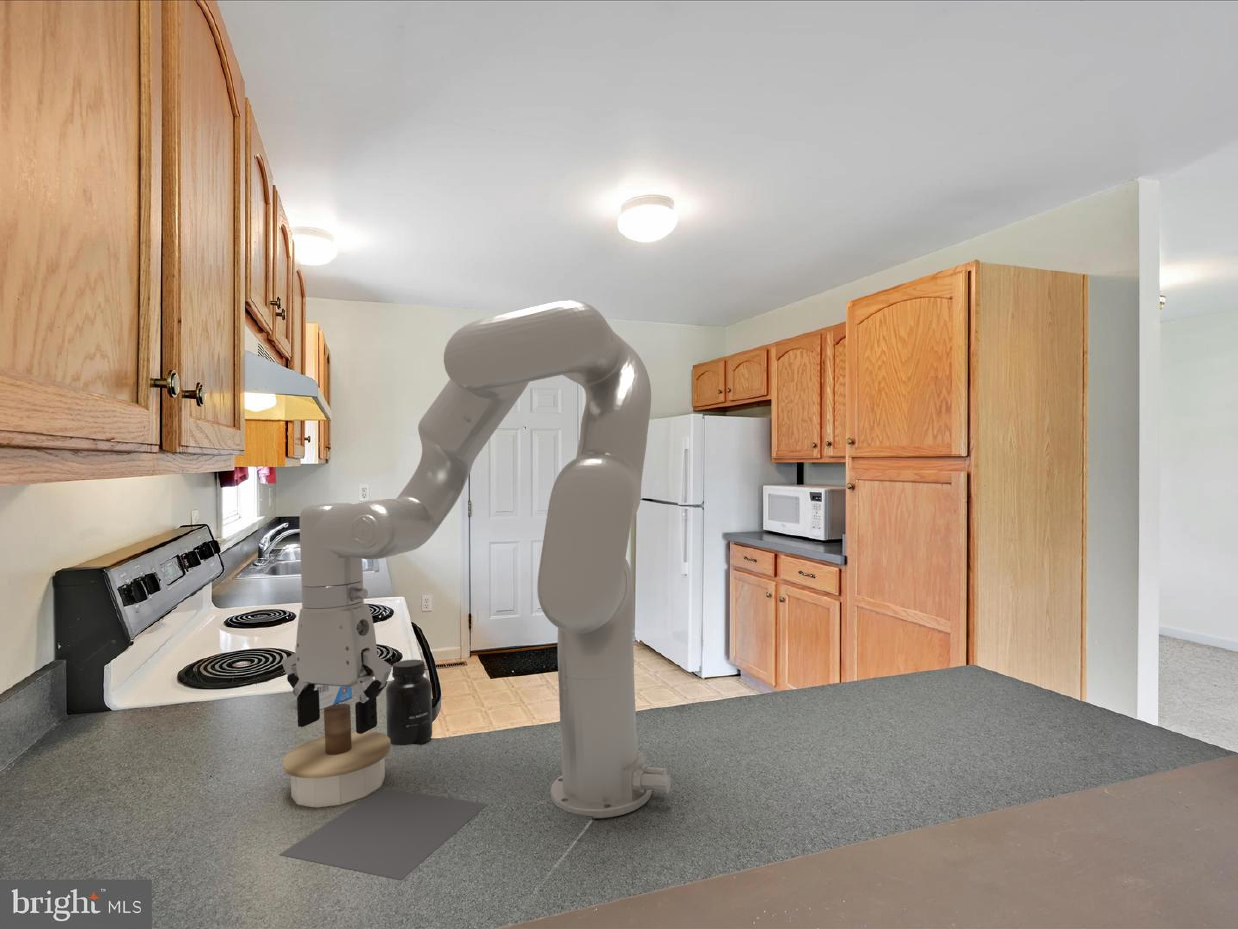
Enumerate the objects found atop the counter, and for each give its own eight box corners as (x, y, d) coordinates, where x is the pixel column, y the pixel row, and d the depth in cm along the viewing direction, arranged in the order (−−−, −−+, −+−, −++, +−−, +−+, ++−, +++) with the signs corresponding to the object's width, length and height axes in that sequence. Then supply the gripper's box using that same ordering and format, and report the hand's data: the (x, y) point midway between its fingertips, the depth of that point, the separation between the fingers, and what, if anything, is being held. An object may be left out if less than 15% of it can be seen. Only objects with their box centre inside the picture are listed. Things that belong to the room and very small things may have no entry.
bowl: (401, 777, 91) (400, 744, 91) (341, 816, 80) (340, 778, 81) (337, 768, 95) (336, 736, 95) (273, 804, 84) (271, 768, 84)
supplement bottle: (419, 749, 100) (416, 669, 100) (378, 748, 101) (375, 669, 102) (440, 732, 107) (438, 657, 107) (401, 731, 108) (399, 657, 108)
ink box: (335, 695, 129) (332, 619, 130) (353, 698, 127) (350, 620, 127) (295, 709, 122) (293, 628, 122) (314, 712, 119) (311, 630, 120)
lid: (411, 741, 91) (409, 695, 92) (341, 783, 79) (339, 730, 79) (336, 733, 96) (335, 689, 96) (259, 771, 84) (258, 721, 84)
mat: (488, 808, 81) (488, 803, 81) (401, 885, 66) (401, 879, 66) (381, 792, 86) (381, 788, 86) (279, 860, 71) (279, 854, 71)
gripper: (405, 593, 89) (409, 722, 88) (305, 590, 95) (309, 712, 94) (365, 603, 82) (370, 744, 81) (260, 600, 88) (264, 731, 87)
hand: (337, 726), depth 88 cm, fingers open, 9 cm apart
